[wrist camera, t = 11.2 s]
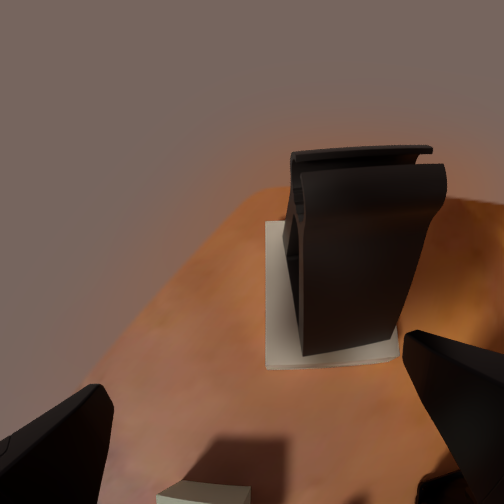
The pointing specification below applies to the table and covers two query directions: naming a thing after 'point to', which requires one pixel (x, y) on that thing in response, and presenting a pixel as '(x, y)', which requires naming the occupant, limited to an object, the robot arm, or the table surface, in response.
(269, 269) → the base block
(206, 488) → the sage cube
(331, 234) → the phone stand
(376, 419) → the table surface
